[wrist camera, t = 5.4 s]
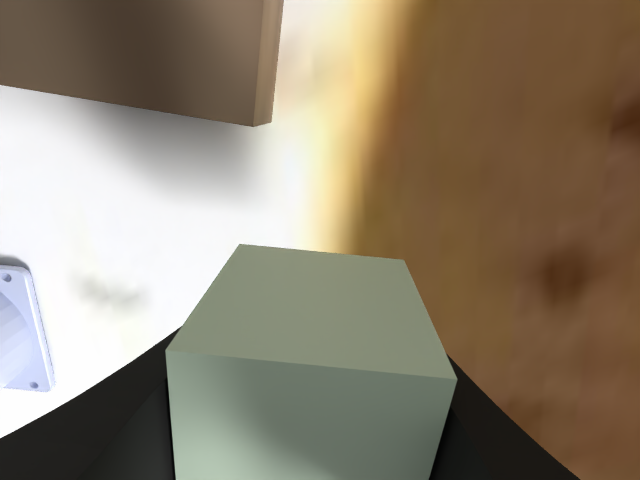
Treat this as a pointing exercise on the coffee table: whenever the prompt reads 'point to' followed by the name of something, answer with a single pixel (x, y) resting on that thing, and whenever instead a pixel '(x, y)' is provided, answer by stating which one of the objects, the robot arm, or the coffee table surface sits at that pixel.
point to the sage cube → (308, 372)
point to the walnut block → (148, 53)
